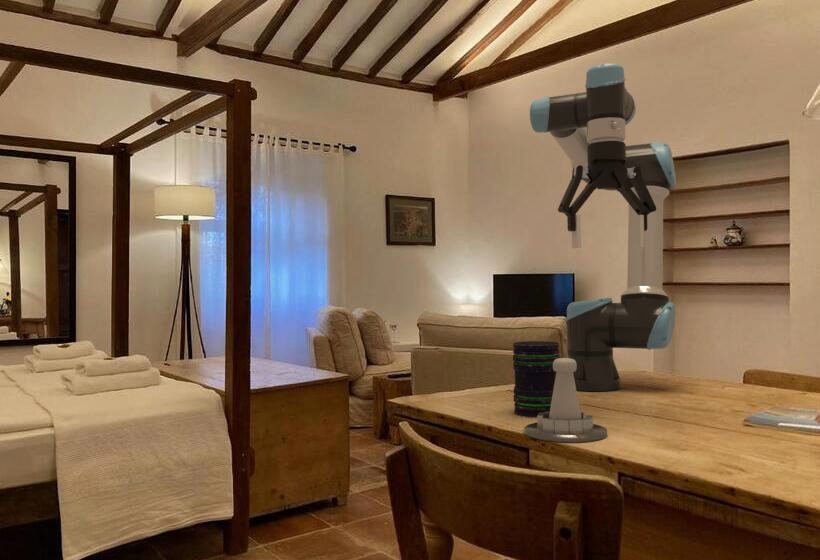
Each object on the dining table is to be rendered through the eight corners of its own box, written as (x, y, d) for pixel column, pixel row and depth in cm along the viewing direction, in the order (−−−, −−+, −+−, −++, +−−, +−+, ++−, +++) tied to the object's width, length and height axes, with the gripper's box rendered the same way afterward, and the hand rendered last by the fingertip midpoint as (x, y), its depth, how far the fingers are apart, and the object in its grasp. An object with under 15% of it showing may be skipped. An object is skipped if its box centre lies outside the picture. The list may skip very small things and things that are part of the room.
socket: (513, 427, 134) (513, 410, 134) (586, 423, 136) (585, 406, 136) (541, 445, 119) (541, 425, 119) (622, 440, 122) (622, 421, 122)
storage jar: (567, 411, 149) (565, 342, 149) (551, 419, 141) (550, 346, 141) (523, 407, 154) (522, 340, 154) (506, 415, 146) (505, 344, 146)
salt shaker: (545, 430, 127) (543, 359, 127) (555, 424, 132) (554, 356, 132) (576, 433, 124) (575, 360, 124) (585, 427, 129) (584, 357, 129)
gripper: (554, 137, 134) (556, 247, 134) (672, 140, 139) (674, 246, 139) (541, 145, 142) (542, 249, 142) (653, 147, 146) (655, 248, 146)
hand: (608, 247), depth 140 cm, fingers open, 13 cm apart
